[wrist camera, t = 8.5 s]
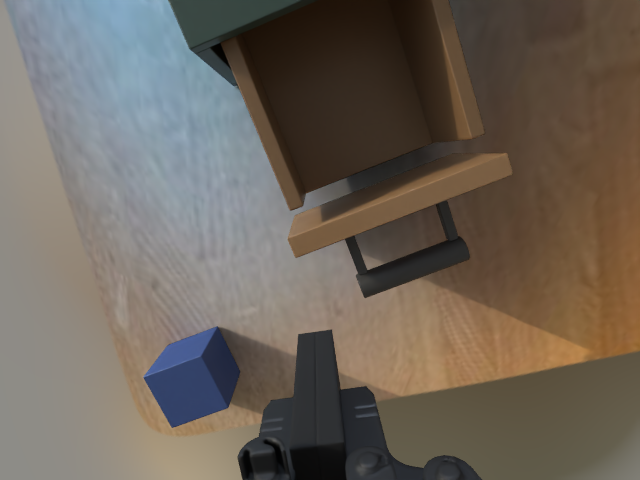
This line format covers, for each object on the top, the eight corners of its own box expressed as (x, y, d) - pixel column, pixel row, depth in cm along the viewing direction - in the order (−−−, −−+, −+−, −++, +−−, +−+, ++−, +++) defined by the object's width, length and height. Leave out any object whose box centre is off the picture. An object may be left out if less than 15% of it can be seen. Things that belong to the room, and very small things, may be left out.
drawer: (475, 228, 28) (535, 256, 20) (323, 286, 29) (327, 332, 21) (388, -61, 24) (423, -162, 16) (212, 17, 25) (167, -44, 17)
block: (191, 389, 32) (171, 428, 27) (167, 344, 31) (142, 377, 26) (240, 372, 32) (228, 408, 27) (217, 325, 31) (201, 355, 26)
